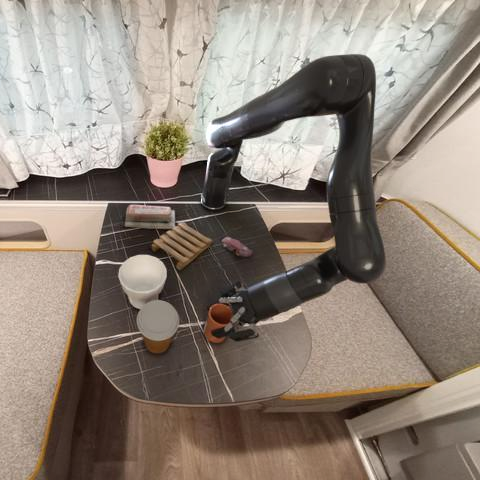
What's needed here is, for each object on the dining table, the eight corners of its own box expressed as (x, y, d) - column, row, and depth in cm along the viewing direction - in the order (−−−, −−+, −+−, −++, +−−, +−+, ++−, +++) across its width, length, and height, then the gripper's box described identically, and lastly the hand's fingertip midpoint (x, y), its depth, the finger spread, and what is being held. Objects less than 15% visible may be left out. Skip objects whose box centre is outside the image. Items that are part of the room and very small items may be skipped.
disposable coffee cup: (139, 322, 72) (138, 297, 63) (175, 324, 71) (179, 299, 63) (136, 359, 65) (134, 336, 56) (176, 361, 65) (180, 338, 56)
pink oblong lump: (220, 248, 93) (218, 240, 87) (228, 238, 94) (226, 229, 88) (245, 264, 89) (245, 256, 83) (253, 253, 89) (254, 245, 83)
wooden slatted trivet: (182, 226, 99) (183, 220, 96) (211, 244, 92) (212, 238, 90) (151, 249, 90) (151, 242, 88) (180, 271, 84) (181, 264, 82)
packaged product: (123, 217, 94) (127, 200, 101) (124, 227, 97) (128, 210, 104) (175, 219, 94) (175, 202, 101) (174, 230, 97) (174, 212, 104)
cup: (161, 320, 72) (162, 296, 64) (115, 311, 74) (111, 288, 66) (168, 282, 81) (170, 258, 73) (128, 275, 82) (125, 251, 74)
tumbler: (212, 317, 73) (218, 299, 66) (230, 331, 70) (238, 314, 64) (199, 332, 70) (203, 314, 63) (217, 347, 67) (224, 330, 61)
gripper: (257, 261, 61) (198, 291, 69) (278, 319, 51) (205, 346, 59) (273, 275, 65) (215, 302, 73) (295, 332, 55) (225, 356, 63)
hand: (211, 322), depth 66 cm, fingers closed on tumbler, 6 cm apart
